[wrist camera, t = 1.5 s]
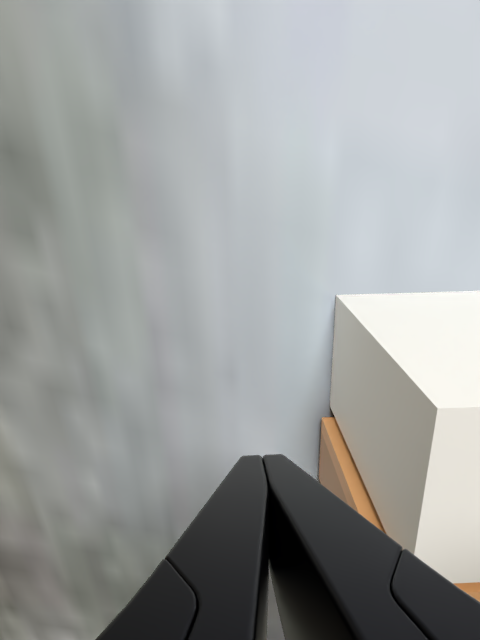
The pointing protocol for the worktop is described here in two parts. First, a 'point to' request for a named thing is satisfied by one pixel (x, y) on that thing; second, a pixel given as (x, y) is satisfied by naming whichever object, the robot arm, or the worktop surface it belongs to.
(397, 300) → the block
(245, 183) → the worktop surface
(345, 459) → the orange l-shaped block
